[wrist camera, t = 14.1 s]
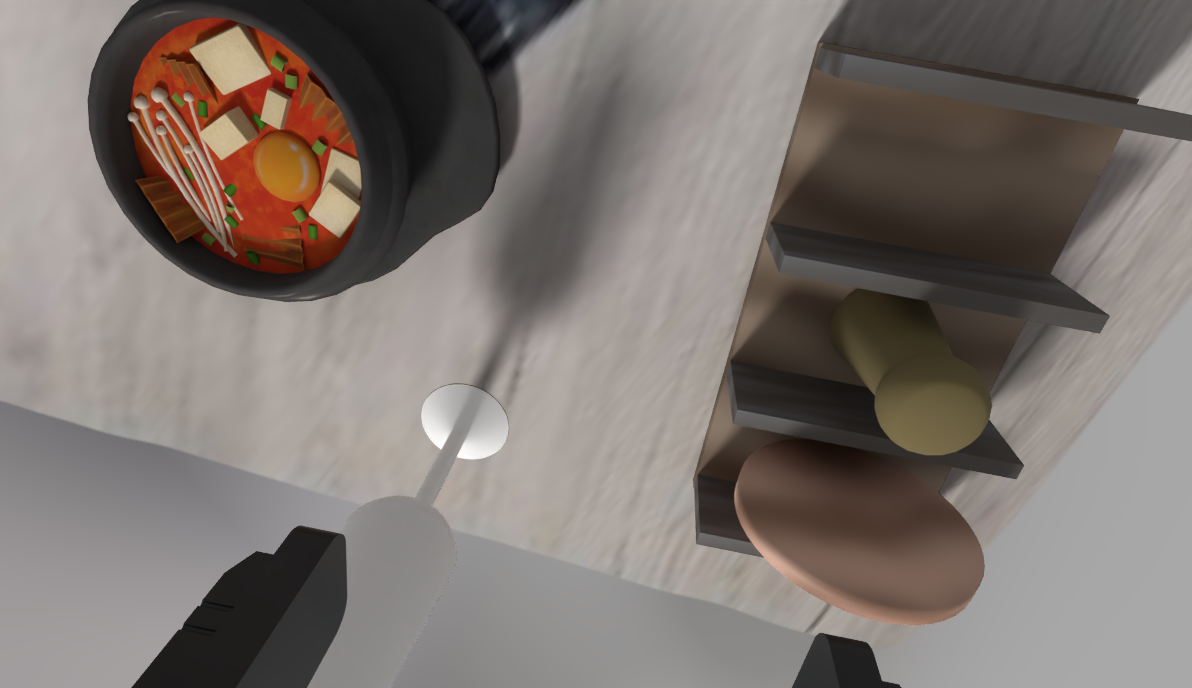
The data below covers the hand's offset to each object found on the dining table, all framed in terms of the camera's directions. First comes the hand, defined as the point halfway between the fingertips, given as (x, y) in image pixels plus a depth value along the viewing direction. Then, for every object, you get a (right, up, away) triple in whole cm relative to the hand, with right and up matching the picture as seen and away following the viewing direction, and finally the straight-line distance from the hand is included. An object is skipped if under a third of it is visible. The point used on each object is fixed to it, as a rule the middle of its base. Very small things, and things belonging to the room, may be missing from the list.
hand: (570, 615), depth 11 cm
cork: (+18, +6, +30) cm, 36 cm away
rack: (+18, +6, +31) cm, 36 cm away
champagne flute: (-9, -1, +38) cm, 39 cm away
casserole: (-17, +18, +30) cm, 39 cm away
